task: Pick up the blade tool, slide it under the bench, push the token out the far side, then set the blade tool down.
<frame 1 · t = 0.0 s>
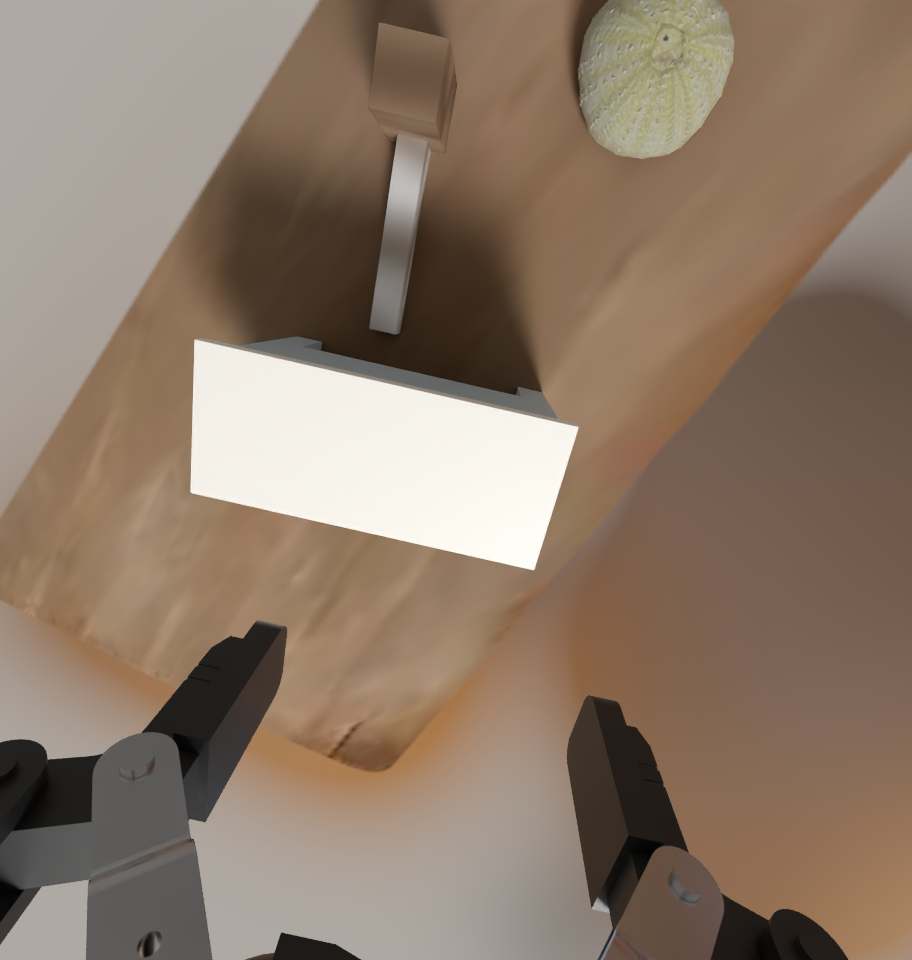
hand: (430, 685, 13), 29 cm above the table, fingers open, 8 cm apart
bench: (411, 412, 40), on the table
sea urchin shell: (642, 83, 32), on the table
blade tool: (422, 113, 33), on the table
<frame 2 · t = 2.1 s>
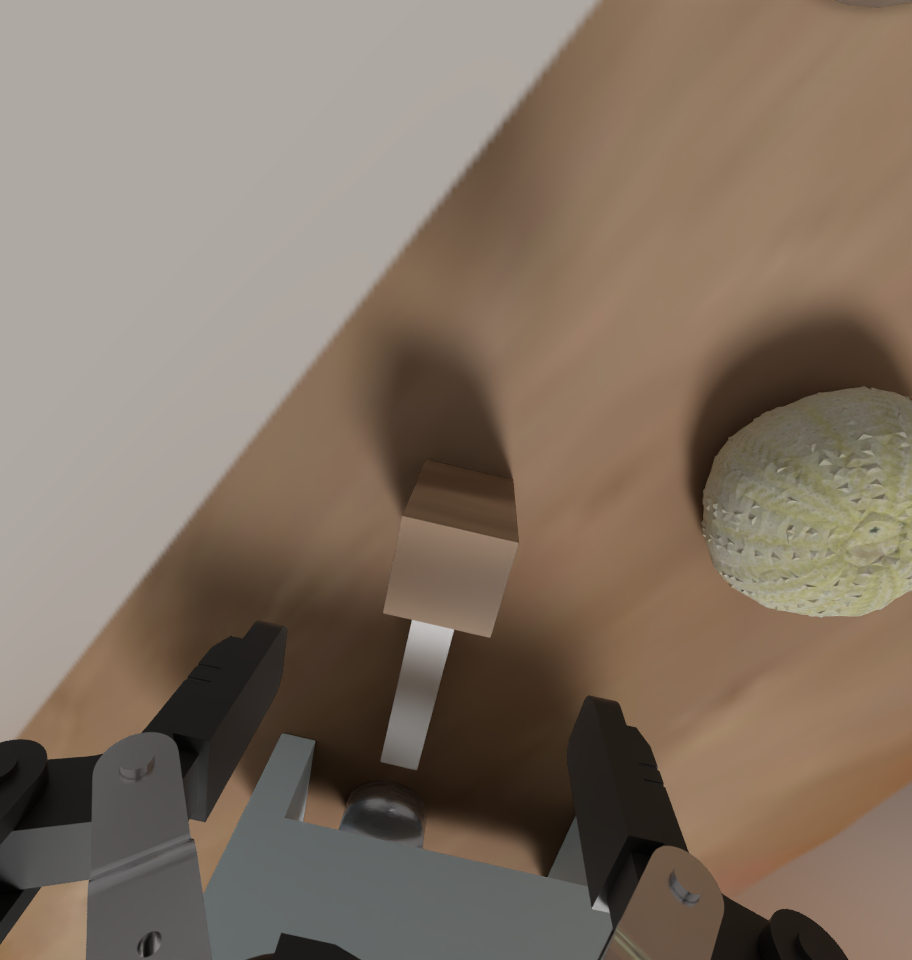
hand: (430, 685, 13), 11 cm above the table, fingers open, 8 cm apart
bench: (435, 816, 30), on the table
token: (387, 806, 30), on the table
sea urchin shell: (794, 486, 21), on the table
blade tool: (460, 509, 23), on the table
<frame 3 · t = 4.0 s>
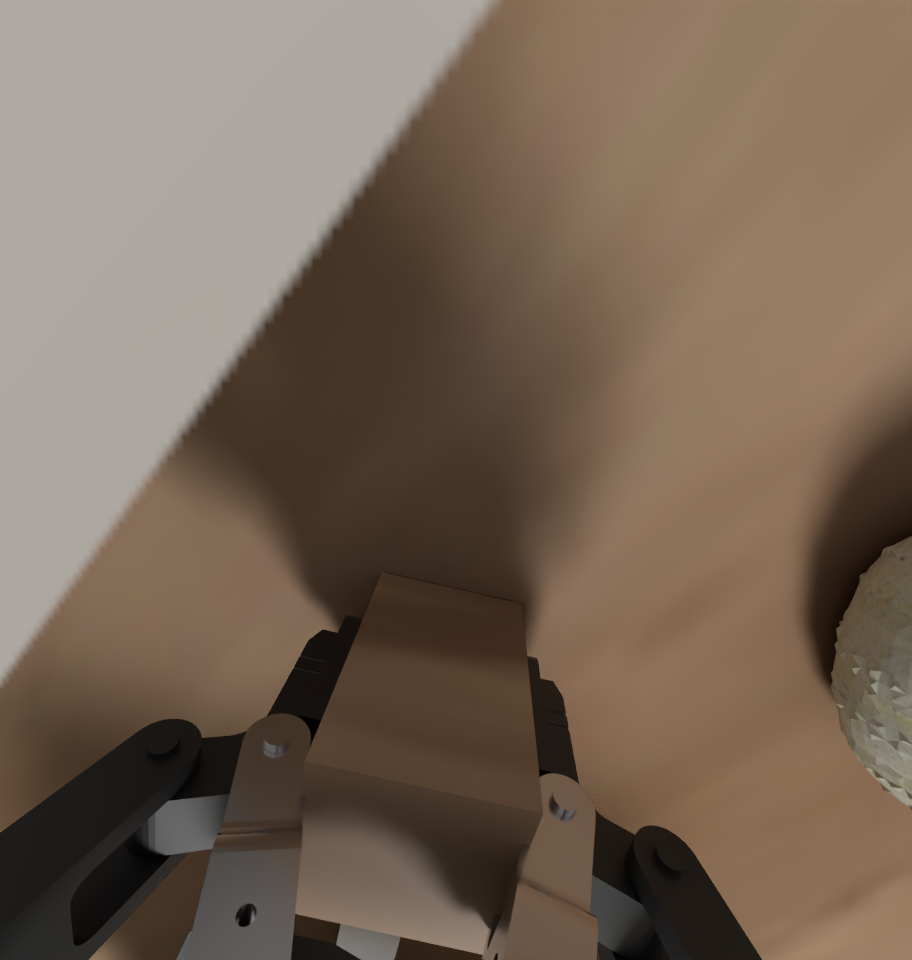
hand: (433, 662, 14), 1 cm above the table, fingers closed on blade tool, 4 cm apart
blade tool: (437, 645, 14), on the table, touching gripper
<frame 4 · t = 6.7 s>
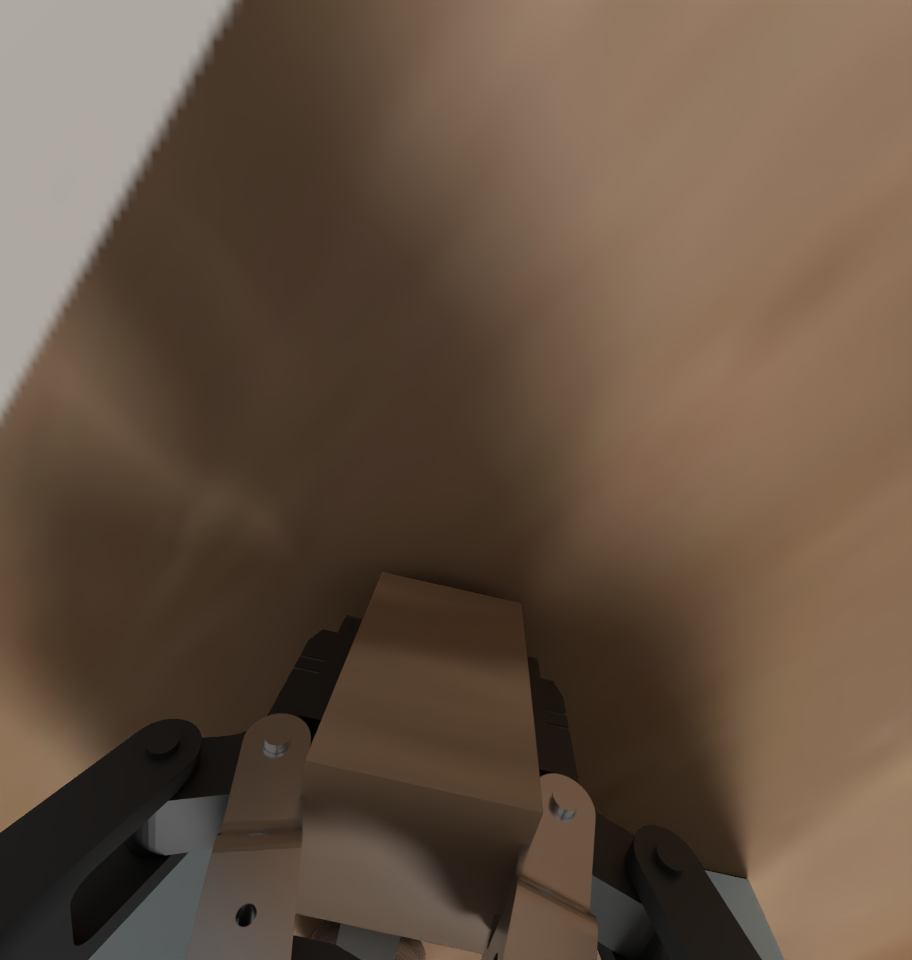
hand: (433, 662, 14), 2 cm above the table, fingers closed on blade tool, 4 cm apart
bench: (457, 890, 19), on the table
token: (367, 950, 21), on the table, touching blade tool
blade tool: (437, 644, 14), point 1 cm above the table, touching gripper, token
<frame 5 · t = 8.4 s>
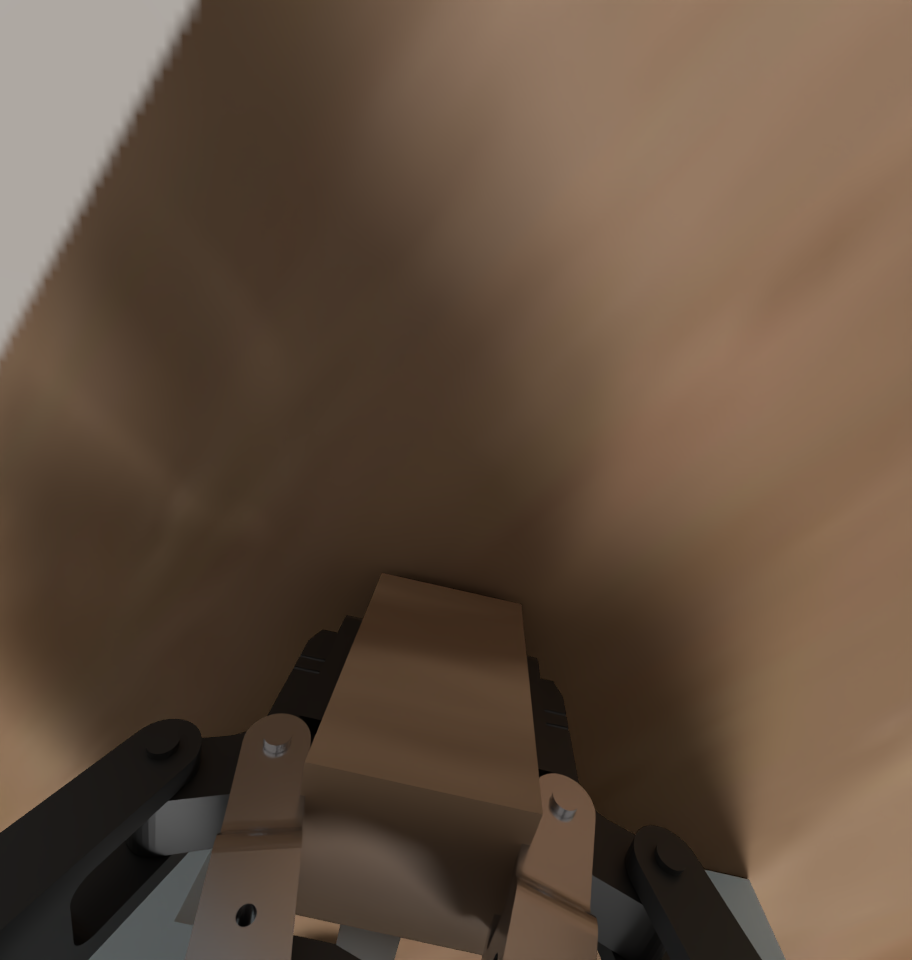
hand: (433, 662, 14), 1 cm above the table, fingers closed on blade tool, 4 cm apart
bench: (450, 890, 18), on the table
blade tool: (437, 645, 14), on the table, touching gripper
when the fingers open (1 cm above the table, at t = 9.5 s): blade tool stays where it is, on the table.
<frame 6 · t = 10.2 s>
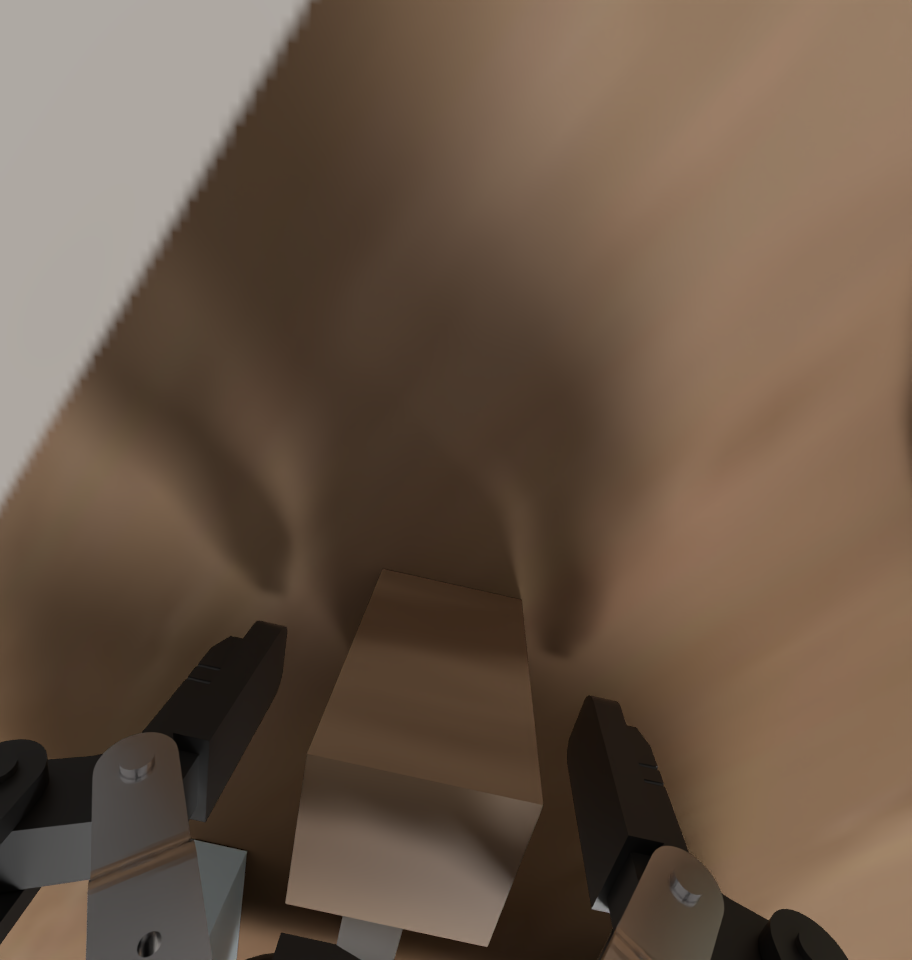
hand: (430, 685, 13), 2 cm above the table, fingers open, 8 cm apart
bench: (436, 959, 20), on the table
blade tool: (438, 641, 14), on the table
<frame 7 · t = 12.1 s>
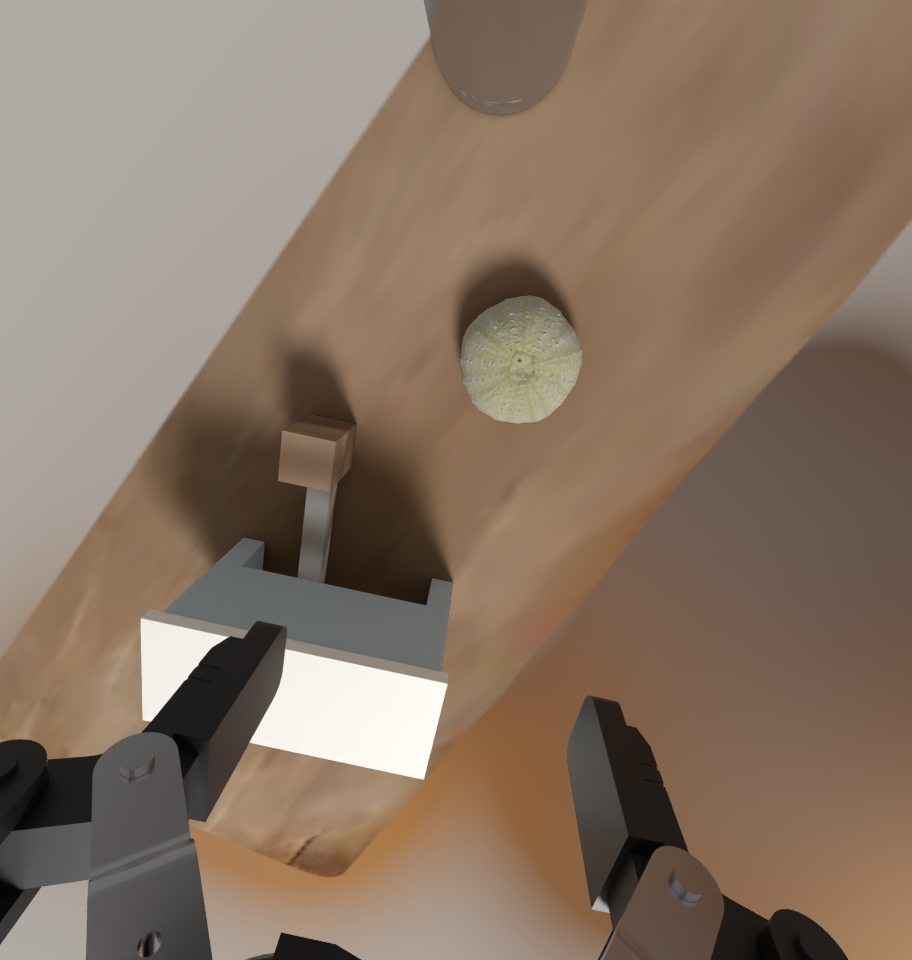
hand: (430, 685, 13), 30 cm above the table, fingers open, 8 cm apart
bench: (343, 596, 47), on the table
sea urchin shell: (518, 358, 39), on the table
blade tool: (331, 441, 42), on the table
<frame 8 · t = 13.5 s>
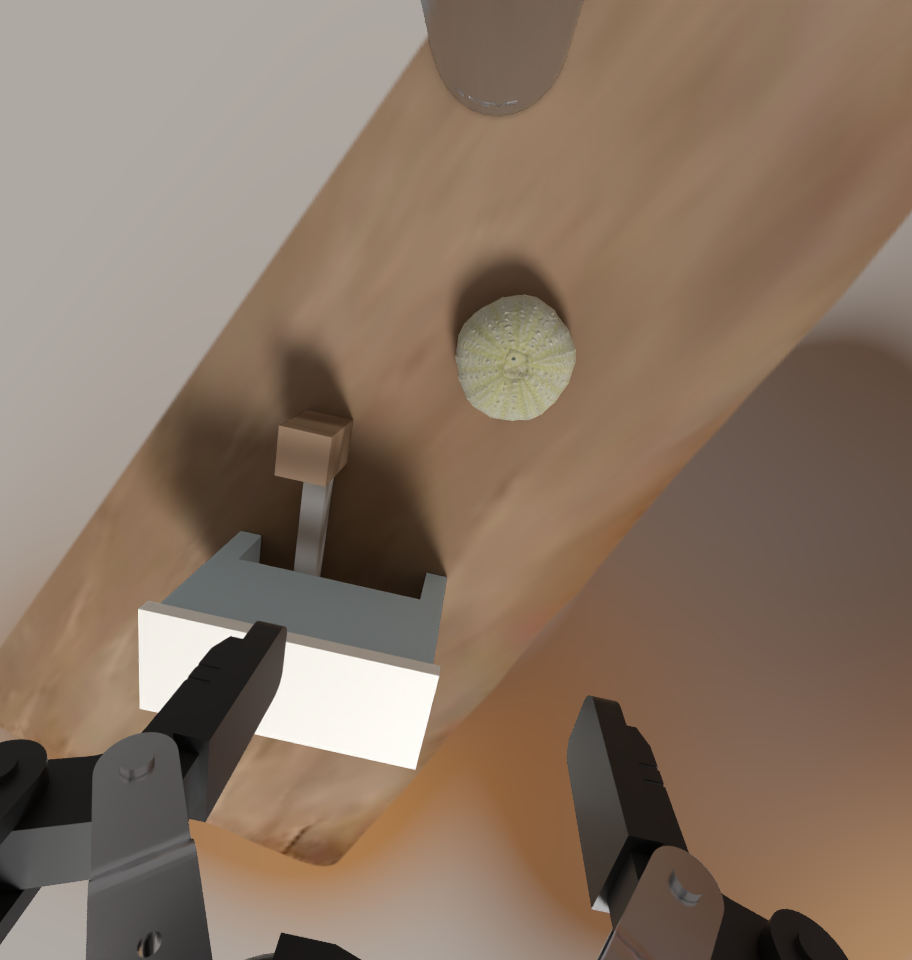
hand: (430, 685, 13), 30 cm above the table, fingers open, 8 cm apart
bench: (338, 589, 47), on the table
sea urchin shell: (513, 356, 39), on the table
blade tool: (327, 436, 42), on the table
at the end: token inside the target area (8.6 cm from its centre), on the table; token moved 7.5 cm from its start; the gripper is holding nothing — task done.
